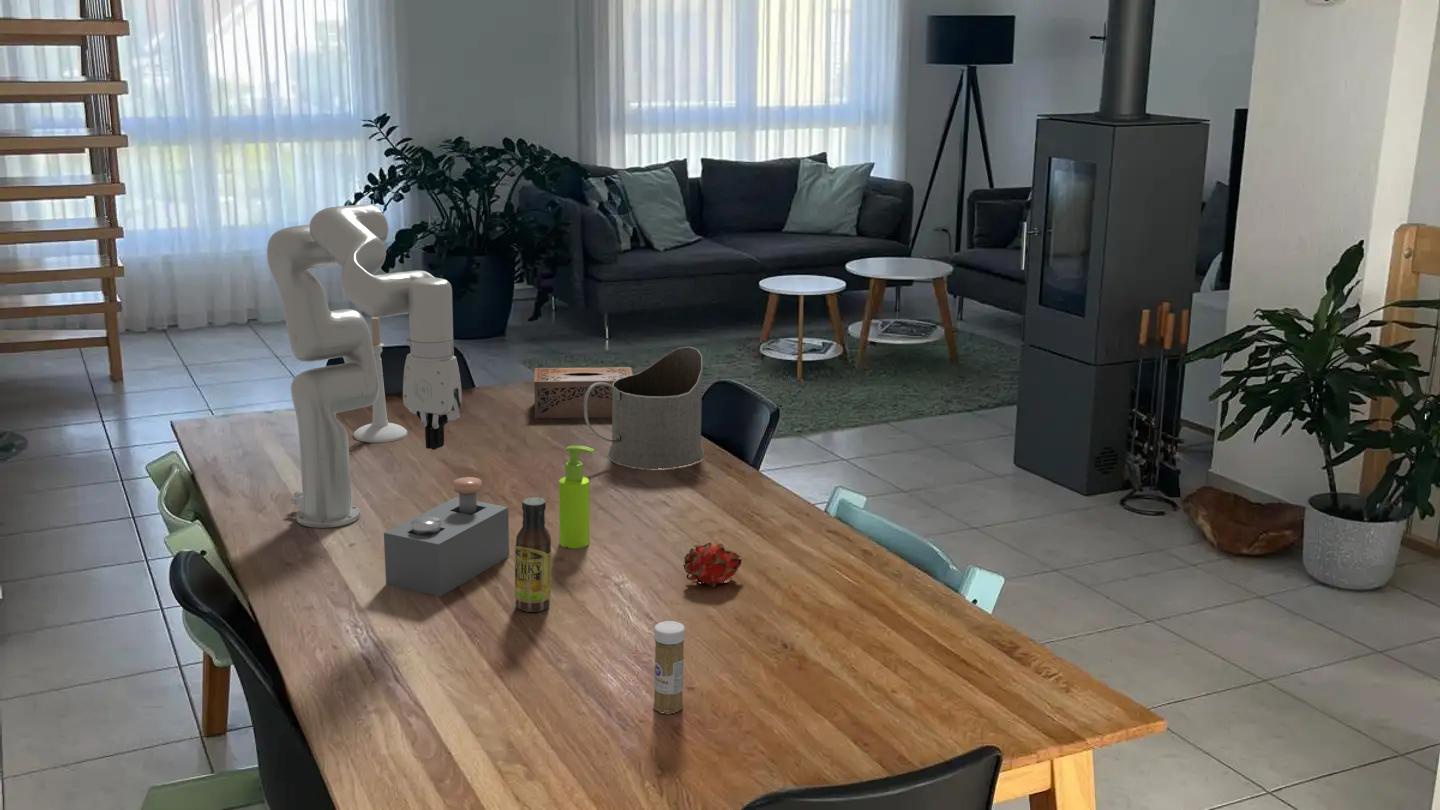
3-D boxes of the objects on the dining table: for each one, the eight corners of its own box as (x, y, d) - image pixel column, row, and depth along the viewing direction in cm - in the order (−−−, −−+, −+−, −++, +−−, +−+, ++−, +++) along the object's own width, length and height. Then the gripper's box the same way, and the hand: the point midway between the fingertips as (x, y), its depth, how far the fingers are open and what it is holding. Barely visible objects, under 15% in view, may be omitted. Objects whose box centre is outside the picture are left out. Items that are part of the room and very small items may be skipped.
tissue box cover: (535, 419, 357) (534, 381, 354) (535, 404, 371) (534, 368, 368) (634, 417, 360) (634, 380, 357) (630, 402, 374) (631, 367, 371)
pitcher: (724, 459, 327) (727, 356, 320) (612, 483, 308) (612, 375, 301) (668, 435, 345) (669, 338, 338) (558, 456, 326) (557, 354, 319)
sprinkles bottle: (647, 708, 207) (647, 626, 204) (667, 698, 211) (668, 617, 207) (669, 718, 205) (670, 635, 201) (689, 707, 208) (691, 625, 204)
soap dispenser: (589, 550, 269) (589, 452, 263) (555, 546, 270) (554, 449, 265) (598, 539, 274) (598, 443, 269) (564, 536, 276) (564, 441, 270)
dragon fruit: (676, 593, 253) (735, 593, 258) (694, 582, 246) (754, 582, 251) (671, 549, 256) (729, 549, 261) (690, 536, 249) (749, 537, 254)
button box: (386, 584, 250) (383, 532, 248) (457, 545, 270) (456, 497, 267) (440, 596, 246) (438, 544, 243) (509, 556, 265) (508, 507, 262)
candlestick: (400, 443, 333) (395, 321, 325) (347, 441, 333) (341, 320, 325) (412, 428, 346) (407, 311, 338) (361, 426, 346) (355, 309, 338)
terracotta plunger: (449, 520, 260) (447, 483, 258) (465, 512, 265) (464, 475, 263) (471, 525, 258) (470, 487, 256) (487, 517, 262) (486, 479, 260)
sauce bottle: (508, 610, 241) (506, 503, 235) (526, 597, 246) (524, 492, 241) (541, 616, 238) (539, 508, 233) (558, 603, 244) (557, 497, 239)
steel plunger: (406, 562, 250) (405, 523, 248) (424, 553, 254) (423, 515, 252) (430, 567, 248) (428, 528, 246) (447, 558, 252) (446, 519, 250)
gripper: (384, 347, 243) (388, 446, 248) (453, 358, 237) (455, 459, 242) (411, 339, 250) (415, 435, 255) (479, 349, 244) (481, 448, 249)
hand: (435, 447), depth 248 cm, fingers closed
